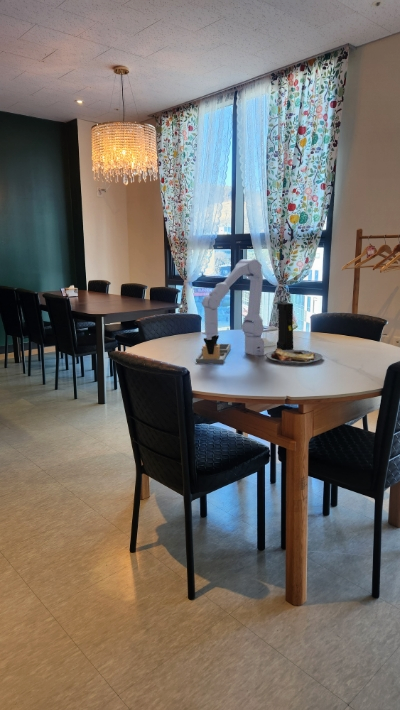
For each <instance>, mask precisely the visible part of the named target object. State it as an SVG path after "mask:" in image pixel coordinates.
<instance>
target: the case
mask: <svg viewBox="0 0 400 710" xmlns="http://www.w3.org/2000/svg"><path fill="white" fill-rule="evenodd" d="M219 344H220V353H227V356H228V355H229V353H230V351H231V350H232V349H231V347H232V345H231V343H219ZM201 352H203V348H201Z"/></svg>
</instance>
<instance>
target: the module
mask: <svg viewBox="0 0 400 710" xmlns="http://www.w3.org/2000/svg"><path fill="white" fill-rule="evenodd" d="M220 344H221V343H216V344H215V346H214V353H213V354H208V351H207V346H206V344H205V343H204V344H203V345H202V349H203V359H219V358H220Z"/></svg>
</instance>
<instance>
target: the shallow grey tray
mask: <svg viewBox="0 0 400 710" xmlns="http://www.w3.org/2000/svg"><path fill="white" fill-rule="evenodd" d="M227 356H228V355H227V353H220V358H219V359H203V352H202V351H201V352H200V353H199V355H198V356H197V357H196V358H195V363H196V362H197V363H213V364H212V365H224V363H225V360H226V358H227Z"/></svg>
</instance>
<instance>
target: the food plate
mask: <svg viewBox="0 0 400 710" xmlns="http://www.w3.org/2000/svg"><path fill="white" fill-rule="evenodd" d="M264 354H265V355H264V356H265V358H267V359H269V360H272V361H277V362H279V363H281V364H285V365H289V364H290V365H294V364H297V365H299V364H301V365H302V364H309V363H312V362H317V361H320V360H321V359H323V358H324V355H322V354H321V353H319V352H313V351H310V350H302V349H299V350H298V349H292V350H281V349H279V348H277V347H276V348H275V350H273V351H268V352H267V353H264Z"/></svg>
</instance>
